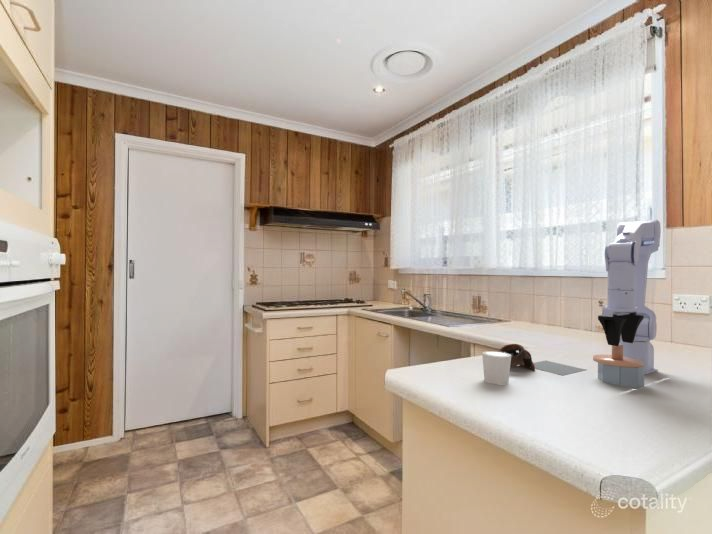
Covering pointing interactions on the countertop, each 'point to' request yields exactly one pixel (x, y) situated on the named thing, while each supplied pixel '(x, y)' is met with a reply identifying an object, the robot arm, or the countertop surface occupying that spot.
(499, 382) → the white tapered cylinder
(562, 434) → the countertop surface
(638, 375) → the grey octagonal bowl
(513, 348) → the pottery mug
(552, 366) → the mat
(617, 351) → the lid
